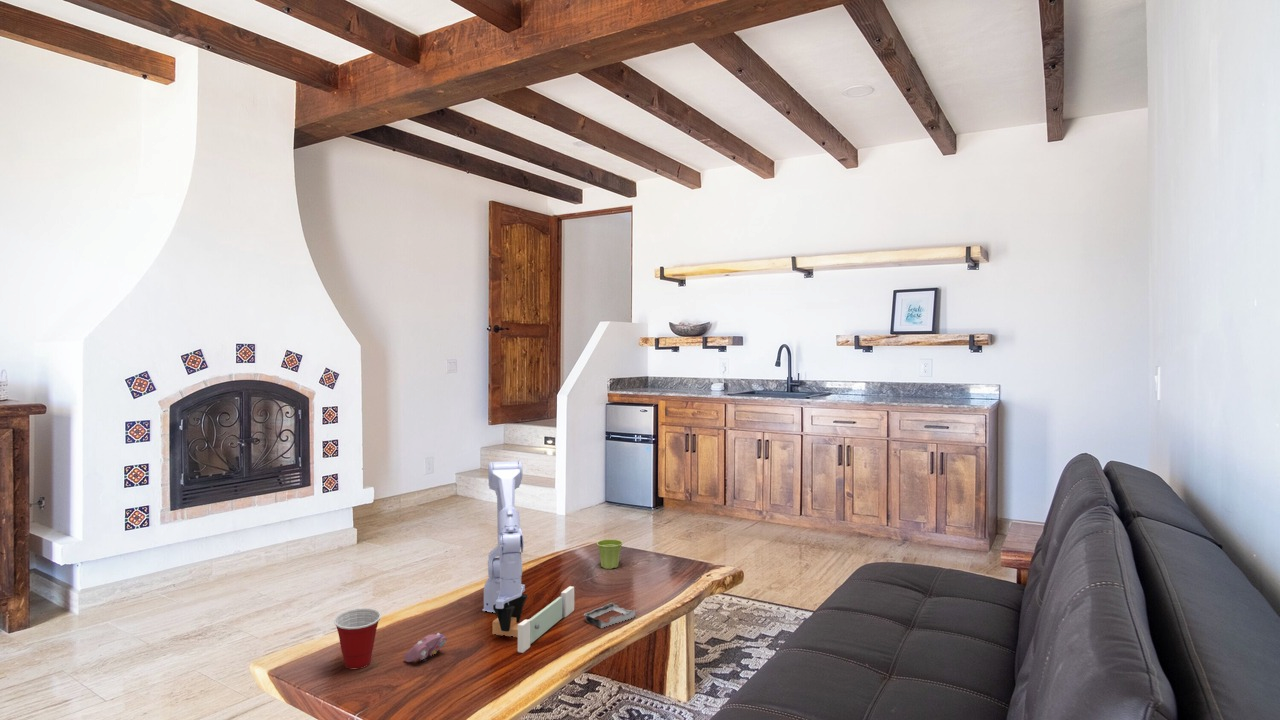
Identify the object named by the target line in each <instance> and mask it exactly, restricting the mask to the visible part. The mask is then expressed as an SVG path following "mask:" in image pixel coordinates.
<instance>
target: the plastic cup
mask: <svg viewBox="0 0 1280 720" xmlns="http://www.w3.org/2000/svg"><path fill="white" fill-rule="evenodd" d="M381 617H382V613H381V612H380V610H377V609H376V608H375V609H374V608H367V607H363V608H354V609H349V610H345V611H343V612H341V613H339V614H338V615H336V616H335V617H334V619H333V623H334V625H335V627H336V629H337V633H338V639H339V643H340V649H341V650H340V651H341V654H342V659H343V664H344V667H345V666H346V667H347V668H361V667H364V666H366V665H368V664H369V663H370V664H371V661H372V656H373V650H374V646H375V645H374V644H375V640H376V635H377V634H376V633H377V630H378V629H377V628H378V625H379V621H380V620H381ZM370 664H369V665H370ZM369 665H368V666H369ZM346 667H345V668H346ZM366 667H367V666H366ZM347 668H346V669H347ZM364 668H365V667H364ZM361 669H362V668H361Z"/></svg>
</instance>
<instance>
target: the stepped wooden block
mask: <svg viewBox="0 0 1280 720" xmlns="http://www.w3.org/2000/svg"><path fill="white" fill-rule="evenodd" d="M520 623H521V622H516V617H511V624H510V630H509V631H508V632H507V631H501V627H500V623H499V620H498V617H497V618H495V619H494V620H493V621H492V625H491V626H492V635H494V634H496V635H497V636H503V635H505V636H506V637H511V636H513V638H518V624H520ZM496 635H495V636H496Z"/></svg>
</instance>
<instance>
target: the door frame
mask: <svg viewBox="0 0 1280 720" xmlns="http://www.w3.org/2000/svg"><path fill="white" fill-rule="evenodd" d="M560 596H564V618H566V617H568V616H569V615H570V614H572V612H574V611H575V586H571V585H569V586H568V587H567V588H565V589H564V590H562V591H561V593H560ZM519 623H520V624H518V637H517V653H522V654H524V653H525V652H526V651H527V650H528V649H530V648H531V644H530V620H529V619H523V620H522V621H521V622H519Z"/></svg>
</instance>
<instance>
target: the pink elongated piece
mask: <svg viewBox="0 0 1280 720" xmlns="http://www.w3.org/2000/svg"><path fill="white" fill-rule="evenodd" d="M446 642H447V637H446V636H445V635H444V634H442V633H440V632H437V633H436V634H428V635H425V636H424V637H423V638H422V639H421V640H418V641H417V643H415V644H414V645H413V646H412V648H410V649H409V650H408V651H407V652H405V654H404V661H405V663H411V662H414V661H415V660H417V659H419V661H421V660H423V659H424V660H426V658H427V657H428V655H429V656H430V657H433V656H435V655H436V654H437V652H438V651H439V650H440V649H441V648H443V646H445V644H446ZM434 654H435V655H434ZM432 655H433V656H432ZM424 660H423V661H424Z"/></svg>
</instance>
